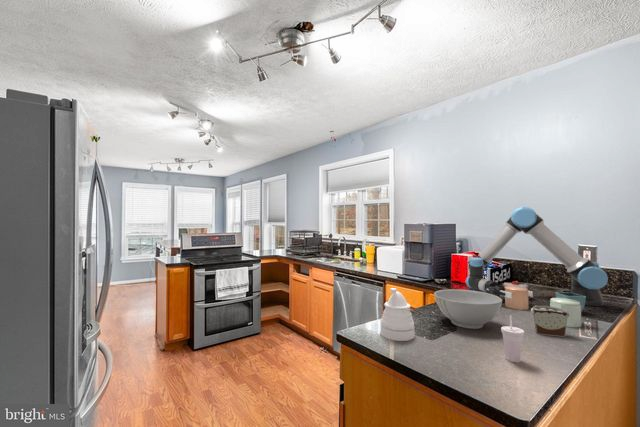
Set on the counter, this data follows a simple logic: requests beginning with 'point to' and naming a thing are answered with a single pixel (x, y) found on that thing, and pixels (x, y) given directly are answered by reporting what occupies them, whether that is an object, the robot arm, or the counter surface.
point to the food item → (518, 286)
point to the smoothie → (512, 342)
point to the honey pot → (397, 318)
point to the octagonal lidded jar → (517, 298)
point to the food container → (550, 320)
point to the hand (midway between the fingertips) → (522, 295)
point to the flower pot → (572, 297)
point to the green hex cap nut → (569, 310)
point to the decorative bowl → (468, 307)
